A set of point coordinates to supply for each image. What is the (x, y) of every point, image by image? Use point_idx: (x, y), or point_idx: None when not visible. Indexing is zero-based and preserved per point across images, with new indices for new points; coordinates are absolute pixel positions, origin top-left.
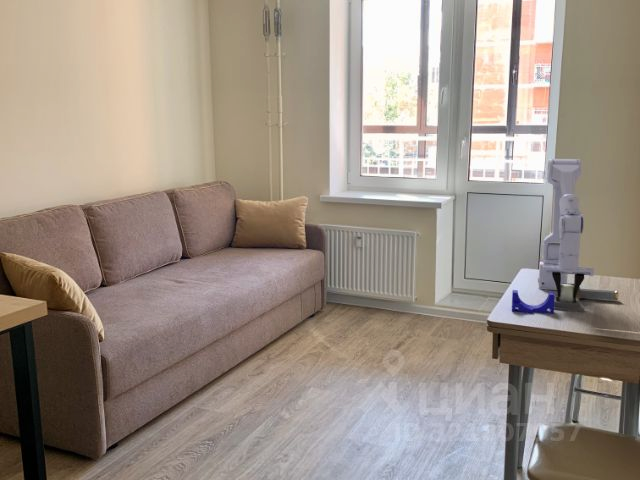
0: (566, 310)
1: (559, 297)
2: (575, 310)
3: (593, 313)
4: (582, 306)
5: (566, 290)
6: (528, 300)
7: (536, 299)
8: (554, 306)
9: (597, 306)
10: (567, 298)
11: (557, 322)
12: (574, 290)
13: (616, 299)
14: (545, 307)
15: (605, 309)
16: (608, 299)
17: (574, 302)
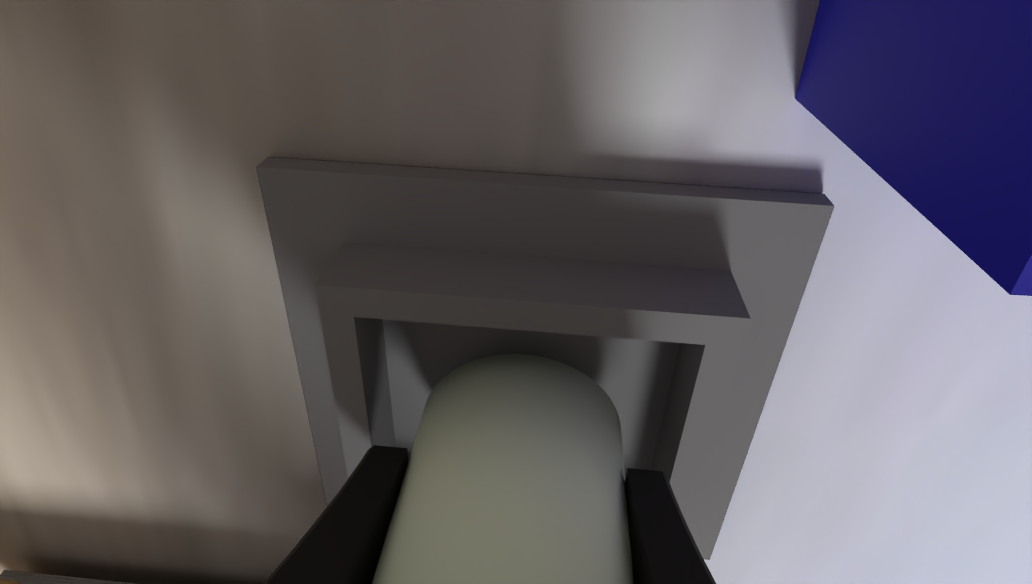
0: (544, 176)
1: None
2: (401, 169)
3: (126, 103)
4: (305, 349)
5: (523, 549)
6: (963, 528)
7: (836, 563)
8: (727, 272)
9: (153, 420)
10: (508, 411)
11: None
12: (351, 559)
13: (3, 578)
14: None
15: (35, 326)
16: (79, 580)
17: None
